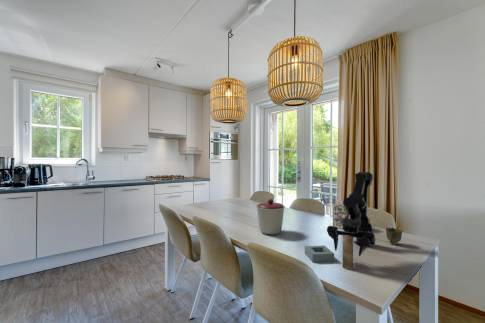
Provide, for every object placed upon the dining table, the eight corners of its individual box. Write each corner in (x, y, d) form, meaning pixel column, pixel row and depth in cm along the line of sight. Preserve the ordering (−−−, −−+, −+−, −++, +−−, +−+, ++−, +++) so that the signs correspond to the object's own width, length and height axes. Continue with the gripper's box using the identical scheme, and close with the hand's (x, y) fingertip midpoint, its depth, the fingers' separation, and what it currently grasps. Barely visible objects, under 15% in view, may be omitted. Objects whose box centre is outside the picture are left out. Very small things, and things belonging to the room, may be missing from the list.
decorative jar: (358, 228, 153) (358, 201, 153) (348, 231, 147) (348, 203, 147) (341, 224, 163) (341, 198, 163) (331, 226, 157) (331, 200, 157)
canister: (264, 238, 133) (264, 202, 133) (251, 230, 150) (251, 197, 150) (290, 234, 140) (290, 200, 140) (275, 226, 157) (275, 195, 157)
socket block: (304, 253, 112) (304, 246, 112) (324, 252, 113) (324, 245, 113) (312, 262, 102) (312, 254, 102) (334, 261, 103) (334, 253, 103)
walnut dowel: (340, 265, 99) (340, 235, 99) (349, 265, 99) (349, 235, 99) (345, 269, 95) (345, 238, 95) (355, 269, 95) (355, 238, 95)
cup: (382, 242, 126) (382, 228, 126) (391, 241, 129) (391, 226, 129) (396, 247, 119) (396, 232, 119) (405, 245, 122) (405, 230, 122)
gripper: (327, 207, 106) (320, 238, 97) (374, 213, 95) (370, 248, 86) (332, 221, 112) (325, 251, 103) (376, 228, 101) (373, 262, 92)
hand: (347, 252), depth 96 cm, fingers open, 9 cm apart
